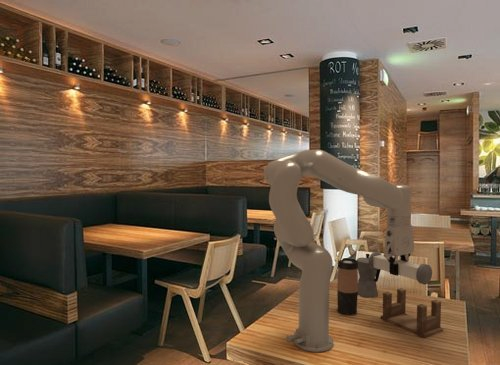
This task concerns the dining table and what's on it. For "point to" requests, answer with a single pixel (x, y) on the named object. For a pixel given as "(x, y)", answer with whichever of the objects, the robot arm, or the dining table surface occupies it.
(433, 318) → the walnut rack
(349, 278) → the travel mug
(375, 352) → the dining table surface
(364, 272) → the coffeepot
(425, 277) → the white bar grey caps
